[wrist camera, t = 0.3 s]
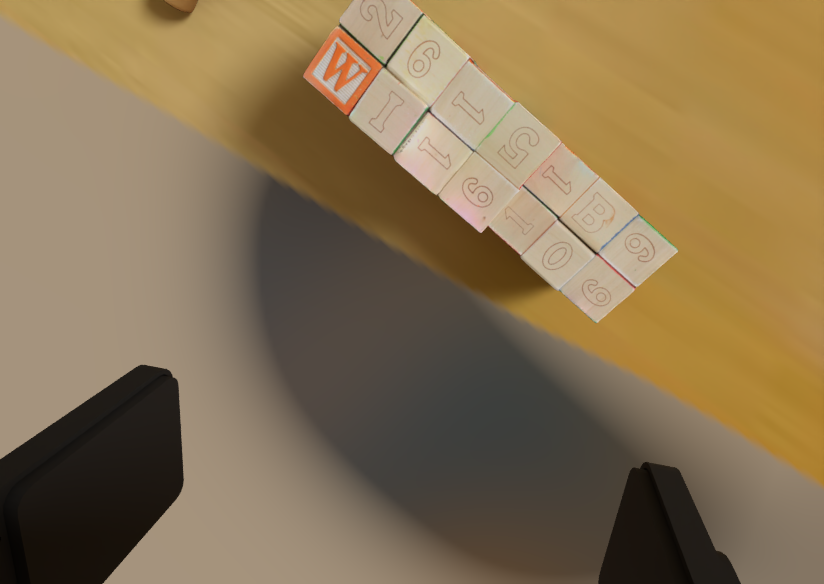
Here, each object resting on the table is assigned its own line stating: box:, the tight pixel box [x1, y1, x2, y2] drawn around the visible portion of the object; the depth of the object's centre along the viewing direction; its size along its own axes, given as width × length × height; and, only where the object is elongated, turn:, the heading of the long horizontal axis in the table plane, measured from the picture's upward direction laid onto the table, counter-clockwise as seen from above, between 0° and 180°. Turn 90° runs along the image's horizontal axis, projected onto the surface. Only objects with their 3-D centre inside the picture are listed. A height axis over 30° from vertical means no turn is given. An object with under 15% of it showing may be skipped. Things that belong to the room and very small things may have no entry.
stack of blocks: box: [303, 0, 678, 323], centre depth 32 cm, size 21×6×12 cm, turn 50°
